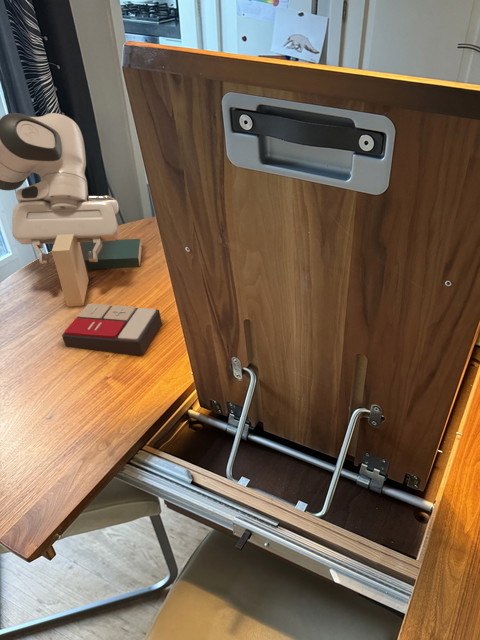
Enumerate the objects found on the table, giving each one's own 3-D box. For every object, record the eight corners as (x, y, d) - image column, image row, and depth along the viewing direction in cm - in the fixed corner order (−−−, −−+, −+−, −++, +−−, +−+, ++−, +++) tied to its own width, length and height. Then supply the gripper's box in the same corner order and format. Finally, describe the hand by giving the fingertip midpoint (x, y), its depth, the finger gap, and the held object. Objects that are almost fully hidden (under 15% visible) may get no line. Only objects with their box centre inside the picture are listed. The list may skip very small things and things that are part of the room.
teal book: (77, 272, 118) (74, 260, 116) (82, 252, 125) (80, 241, 123) (140, 269, 120) (138, 257, 118) (142, 249, 127) (140, 238, 125)
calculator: (86, 300, 102) (159, 305, 100) (92, 319, 104) (162, 324, 102) (59, 332, 93) (137, 338, 91) (66, 351, 96) (142, 357, 94)
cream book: (67, 309, 106) (50, 251, 98) (74, 282, 114) (59, 226, 106) (84, 307, 106) (69, 249, 98) (90, 281, 115) (76, 225, 106)
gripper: (120, 201, 110) (124, 264, 109) (18, 204, 107) (22, 269, 106) (114, 188, 104) (119, 255, 103) (7, 191, 101) (10, 259, 100)
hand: (69, 262), depth 104 cm, fingers open, 8 cm apart
